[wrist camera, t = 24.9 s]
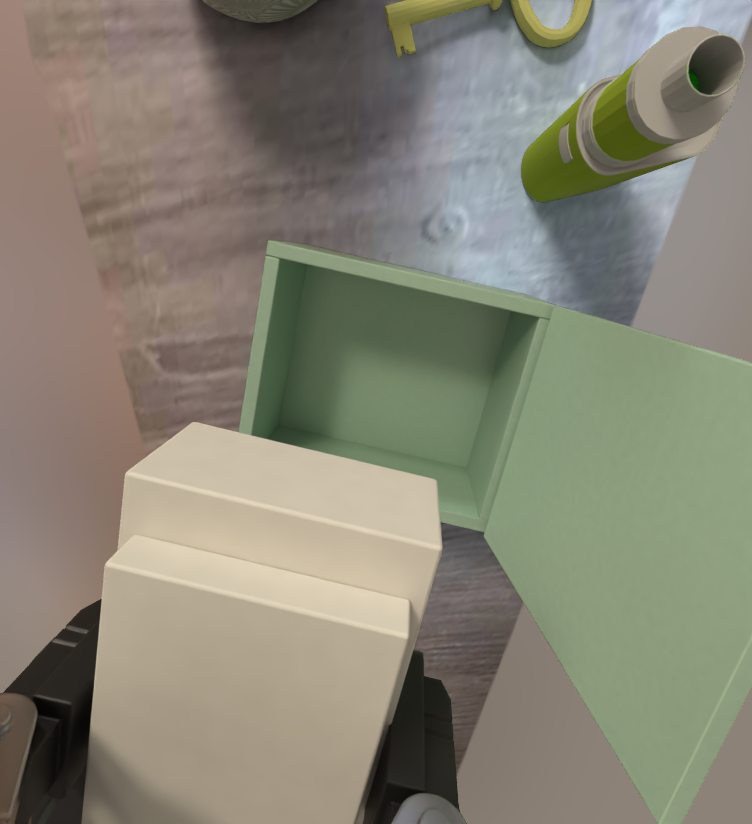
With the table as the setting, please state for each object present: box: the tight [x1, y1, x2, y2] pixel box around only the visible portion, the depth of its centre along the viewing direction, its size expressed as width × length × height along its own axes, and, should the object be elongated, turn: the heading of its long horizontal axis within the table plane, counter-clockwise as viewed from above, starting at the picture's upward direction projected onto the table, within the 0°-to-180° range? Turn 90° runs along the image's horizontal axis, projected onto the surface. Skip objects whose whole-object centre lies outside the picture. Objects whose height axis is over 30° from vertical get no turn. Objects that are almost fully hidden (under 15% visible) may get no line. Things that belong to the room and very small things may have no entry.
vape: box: [521, 26, 745, 203], centre depth 25 cm, size 4×6×20 cm, turn 102°
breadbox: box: [239, 240, 557, 532], centre depth 35 cm, size 16×14×9 cm
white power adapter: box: [81, 422, 443, 824], centre depth 11 cm, size 10×6×4 cm, turn 167°
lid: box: [484, 306, 752, 824], centre depth 23 cm, size 16×14×5 cm
